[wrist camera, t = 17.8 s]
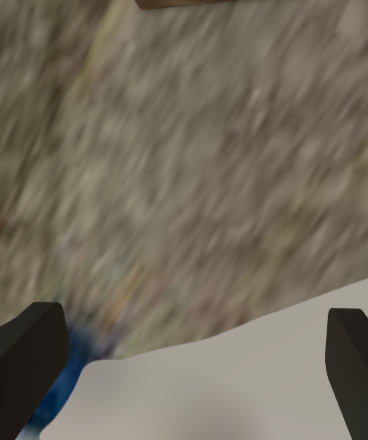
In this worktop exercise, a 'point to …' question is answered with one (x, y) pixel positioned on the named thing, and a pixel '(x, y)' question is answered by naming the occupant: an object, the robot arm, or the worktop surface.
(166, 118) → the worktop surface
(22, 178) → the worktop surface
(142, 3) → the walnut base
